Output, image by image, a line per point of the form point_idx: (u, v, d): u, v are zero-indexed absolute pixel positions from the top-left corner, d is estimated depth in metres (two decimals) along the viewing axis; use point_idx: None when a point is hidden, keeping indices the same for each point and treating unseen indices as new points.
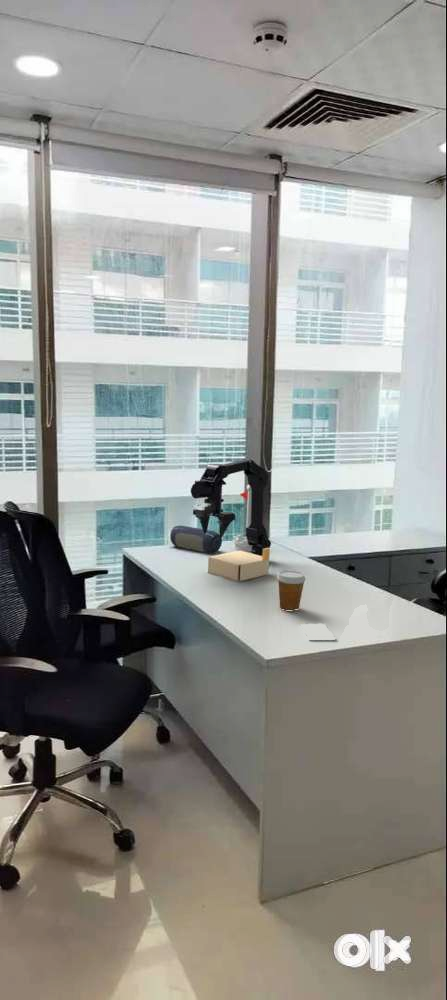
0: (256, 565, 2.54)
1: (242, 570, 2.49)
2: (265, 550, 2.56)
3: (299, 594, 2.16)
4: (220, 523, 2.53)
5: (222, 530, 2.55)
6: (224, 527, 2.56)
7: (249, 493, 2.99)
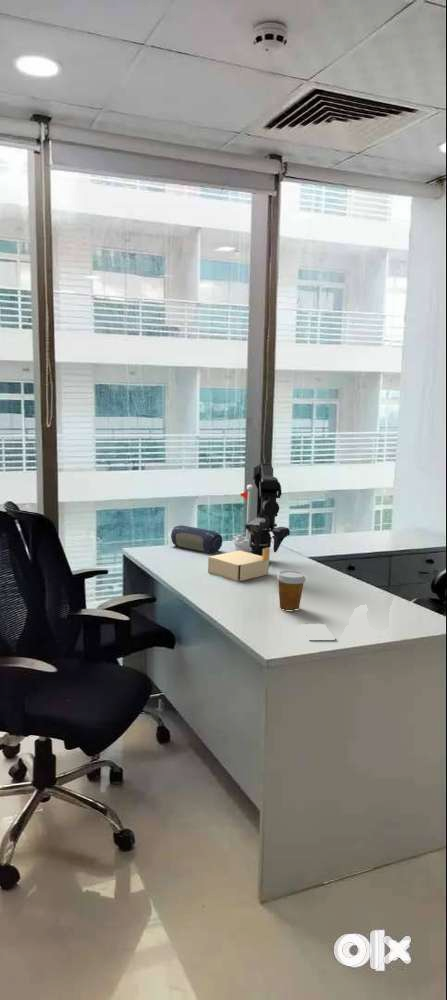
0: (256, 565, 2.54)
1: (242, 570, 2.49)
2: (265, 550, 2.56)
3: (299, 594, 2.16)
4: (275, 538, 2.50)
5: (276, 545, 2.53)
6: (278, 542, 2.53)
7: (249, 493, 2.99)
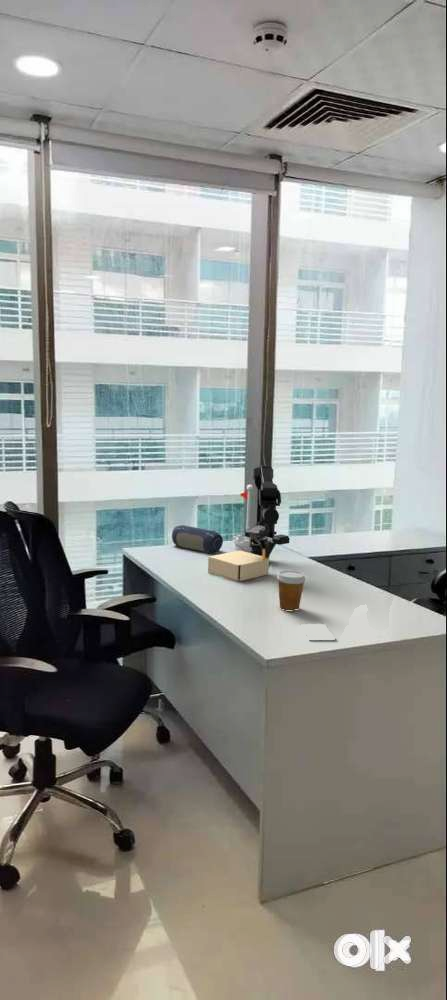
0: (256, 565, 2.54)
1: (242, 570, 2.49)
2: (265, 550, 2.56)
3: (299, 594, 2.16)
4: (267, 544, 2.54)
5: (268, 551, 2.56)
6: (270, 548, 2.56)
7: (249, 493, 2.99)
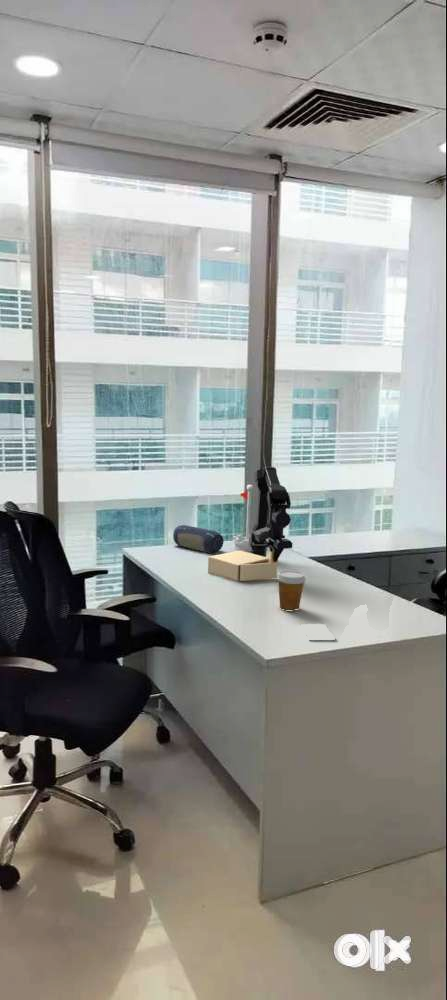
0: (261, 567, 2.51)
1: (242, 570, 2.49)
2: (272, 553, 2.52)
3: (299, 594, 2.16)
4: (272, 547, 2.49)
5: (275, 554, 2.50)
6: (278, 552, 2.50)
7: (249, 493, 2.99)
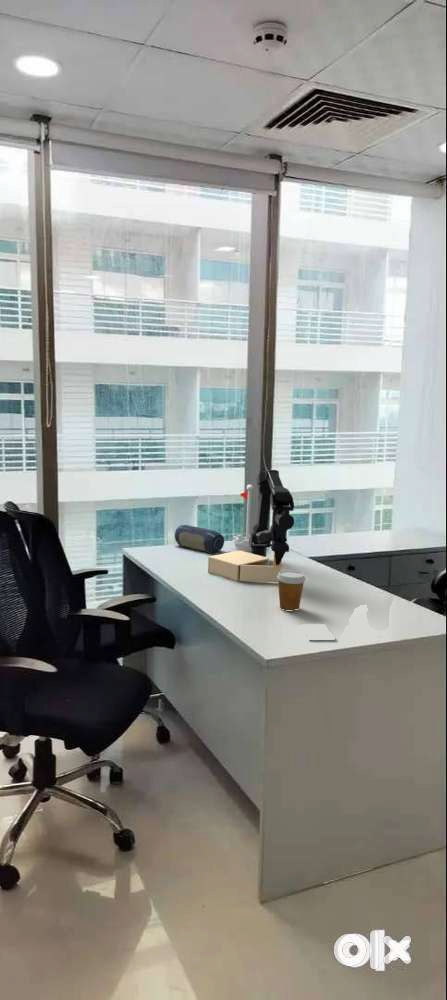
0: (263, 569, 2.48)
1: (242, 570, 2.48)
2: None
3: (299, 594, 2.16)
4: None
5: (277, 557, 2.46)
6: (279, 555, 2.45)
7: (249, 493, 2.99)
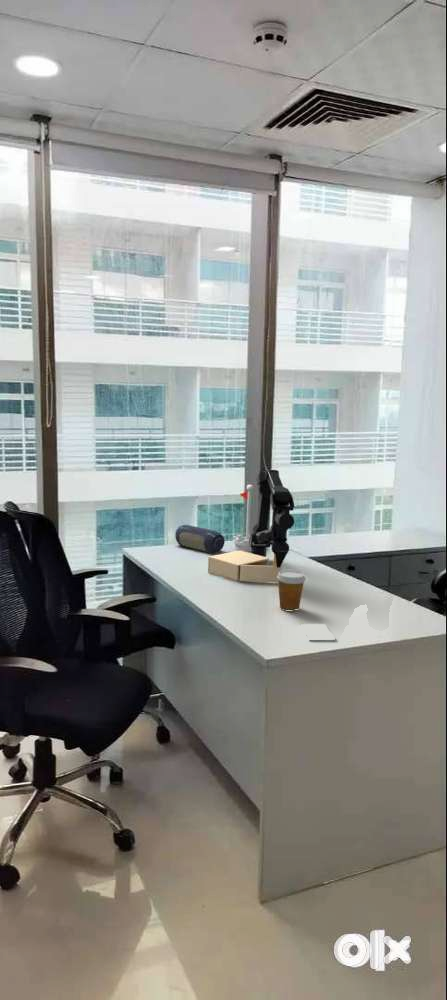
0: (263, 569, 2.48)
1: (242, 571, 2.48)
2: (275, 556, 2.47)
3: (299, 594, 2.16)
4: None
5: (277, 560, 2.42)
6: (280, 557, 2.41)
7: (249, 493, 2.99)
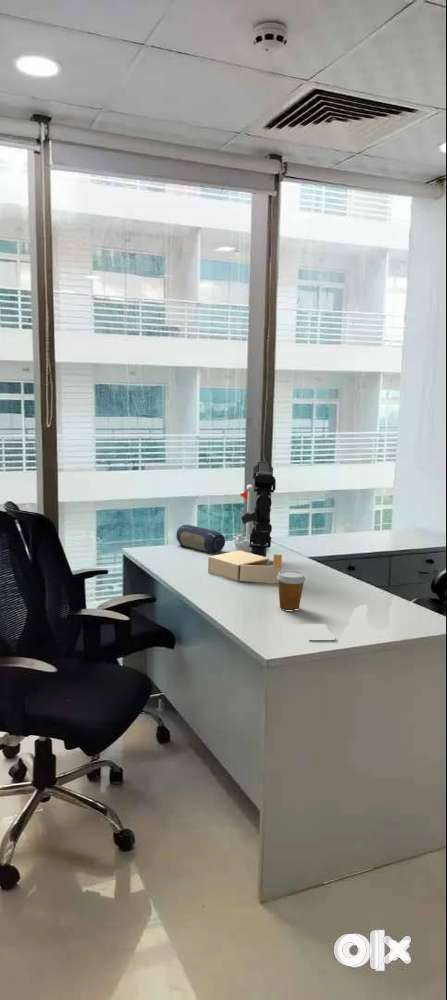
0: (263, 569, 2.48)
1: (242, 571, 2.48)
2: (275, 556, 2.47)
3: (299, 594, 2.16)
4: None
5: (261, 540, 2.51)
6: (263, 537, 2.51)
7: (249, 493, 2.99)
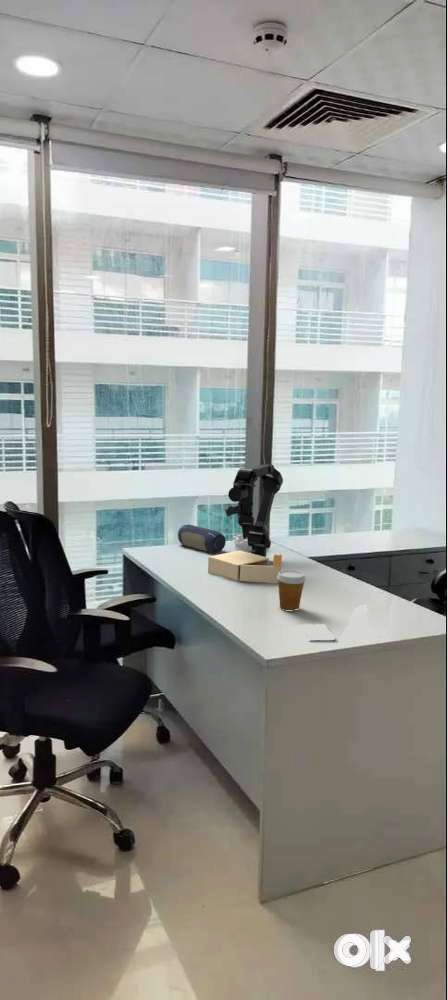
0: (263, 569, 2.48)
1: (242, 571, 2.48)
2: (275, 556, 2.47)
3: (299, 594, 2.16)
4: (239, 524, 2.61)
5: (244, 532, 2.62)
6: (246, 529, 2.61)
7: None
